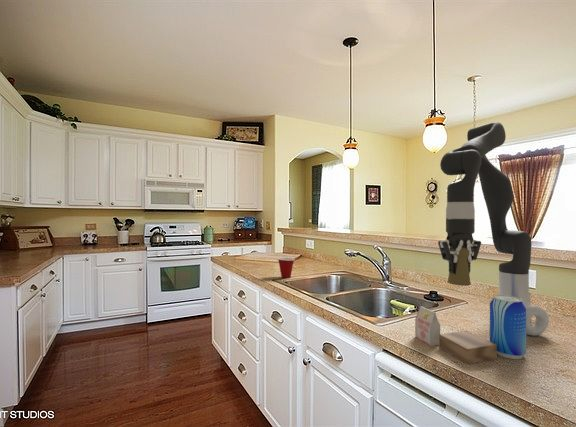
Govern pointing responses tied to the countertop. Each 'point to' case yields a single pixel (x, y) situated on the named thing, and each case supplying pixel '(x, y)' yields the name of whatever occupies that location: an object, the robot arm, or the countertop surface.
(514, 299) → the beer can
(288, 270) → the plastic cup
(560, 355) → the countertop surface
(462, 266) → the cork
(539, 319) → the donut
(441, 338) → the walnut base
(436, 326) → the white tall box
